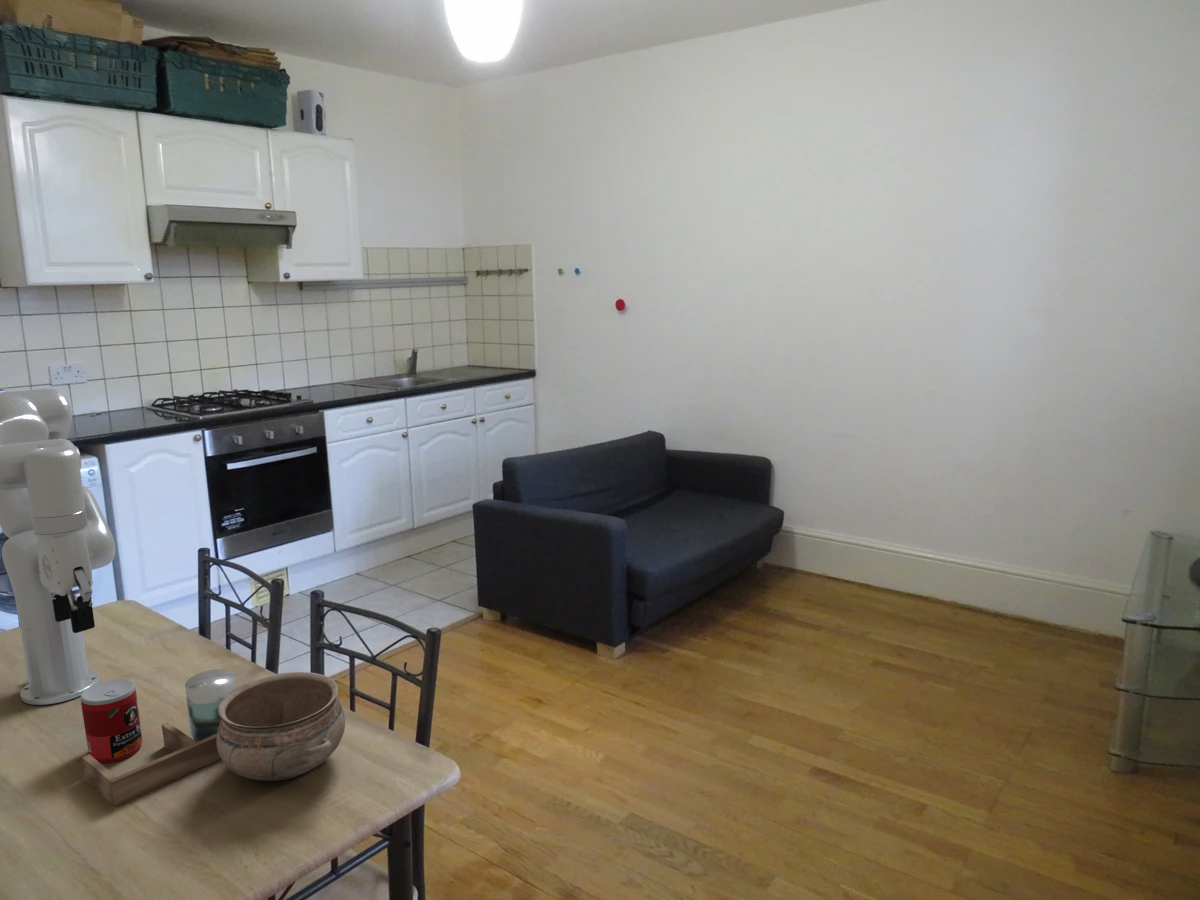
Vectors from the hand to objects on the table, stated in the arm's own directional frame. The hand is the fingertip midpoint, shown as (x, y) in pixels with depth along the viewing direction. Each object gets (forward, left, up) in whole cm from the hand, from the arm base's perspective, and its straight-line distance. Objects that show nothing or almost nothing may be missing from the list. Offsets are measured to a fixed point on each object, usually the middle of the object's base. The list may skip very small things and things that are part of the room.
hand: (75, 623), depth 140 cm
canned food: (+11, 0, -20) cm, 22 cm away
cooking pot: (+38, +14, -20) cm, 45 cm away
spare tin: (+21, +12, -20) cm, 31 cm away
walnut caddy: (+21, +6, -20) cm, 29 cm away
